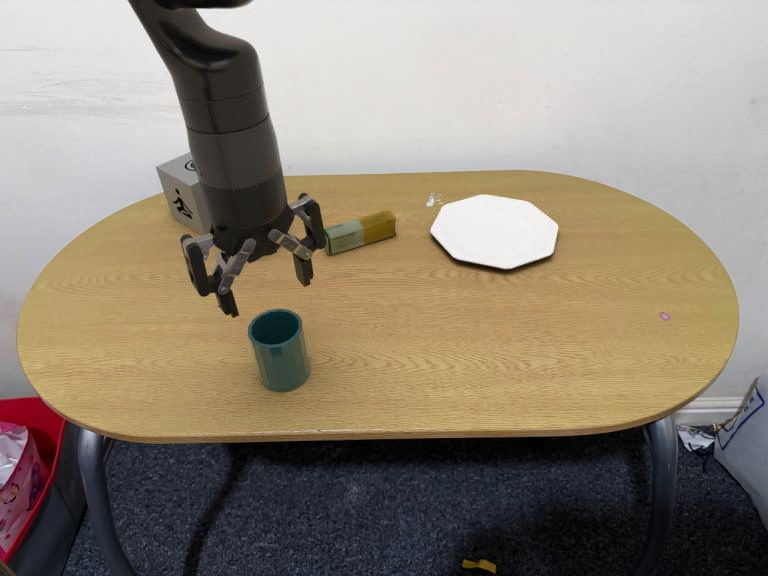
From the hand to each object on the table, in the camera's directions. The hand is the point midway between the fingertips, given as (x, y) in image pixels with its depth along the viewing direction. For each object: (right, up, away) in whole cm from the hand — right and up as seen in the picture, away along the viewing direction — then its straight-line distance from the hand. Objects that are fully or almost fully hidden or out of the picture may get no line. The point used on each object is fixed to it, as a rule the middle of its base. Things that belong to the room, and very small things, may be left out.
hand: (269, 297), depth 59 cm
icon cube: (-18, +14, +36) cm, 43 cm away
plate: (+31, +10, +29) cm, 44 cm away
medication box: (+9, +8, +29) cm, 31 cm away
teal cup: (0, -10, +8) cm, 13 cm away
